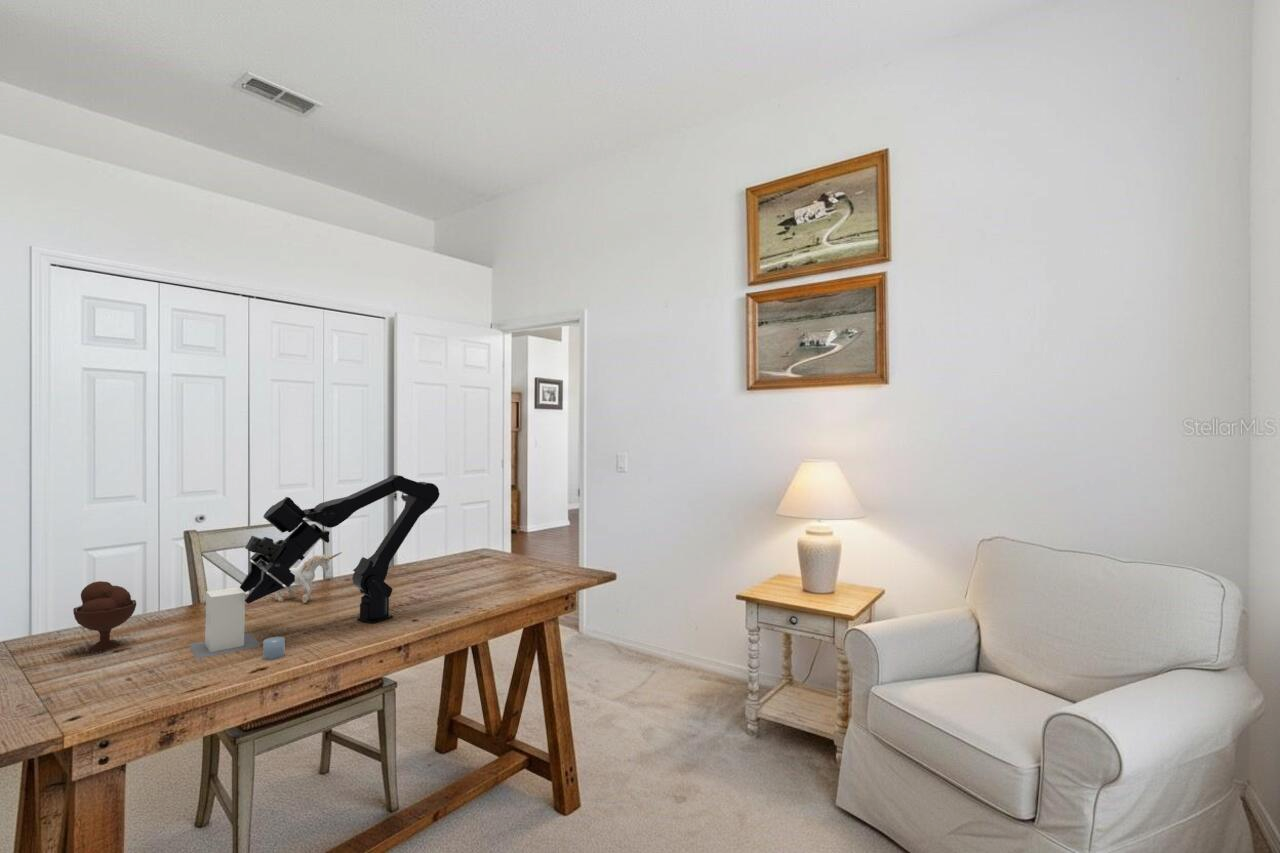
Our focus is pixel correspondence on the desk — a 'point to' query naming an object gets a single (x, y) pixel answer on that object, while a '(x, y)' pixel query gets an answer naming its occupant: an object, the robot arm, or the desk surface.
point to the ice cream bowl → (104, 611)
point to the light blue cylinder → (273, 648)
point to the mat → (202, 651)
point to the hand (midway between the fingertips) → (241, 598)
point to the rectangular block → (225, 619)
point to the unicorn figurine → (306, 576)
